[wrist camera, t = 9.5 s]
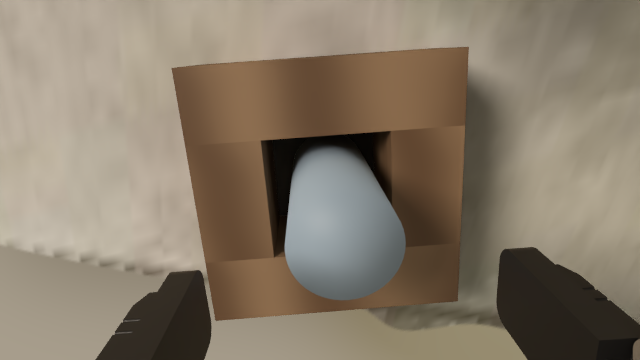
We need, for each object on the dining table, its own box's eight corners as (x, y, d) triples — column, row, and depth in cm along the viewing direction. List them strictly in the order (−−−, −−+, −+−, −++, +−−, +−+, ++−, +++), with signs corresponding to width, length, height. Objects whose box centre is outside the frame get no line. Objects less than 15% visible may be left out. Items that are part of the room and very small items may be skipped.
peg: (362, 129, 22) (405, 186, 13) (364, 196, 23) (405, 295, 14) (289, 134, 22) (278, 195, 13) (296, 202, 23) (290, 304, 14)
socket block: (431, 48, 21) (468, 47, 16) (427, 253, 25) (457, 301, 20) (202, 64, 21) (171, 68, 16) (232, 268, 24) (215, 320, 20)
